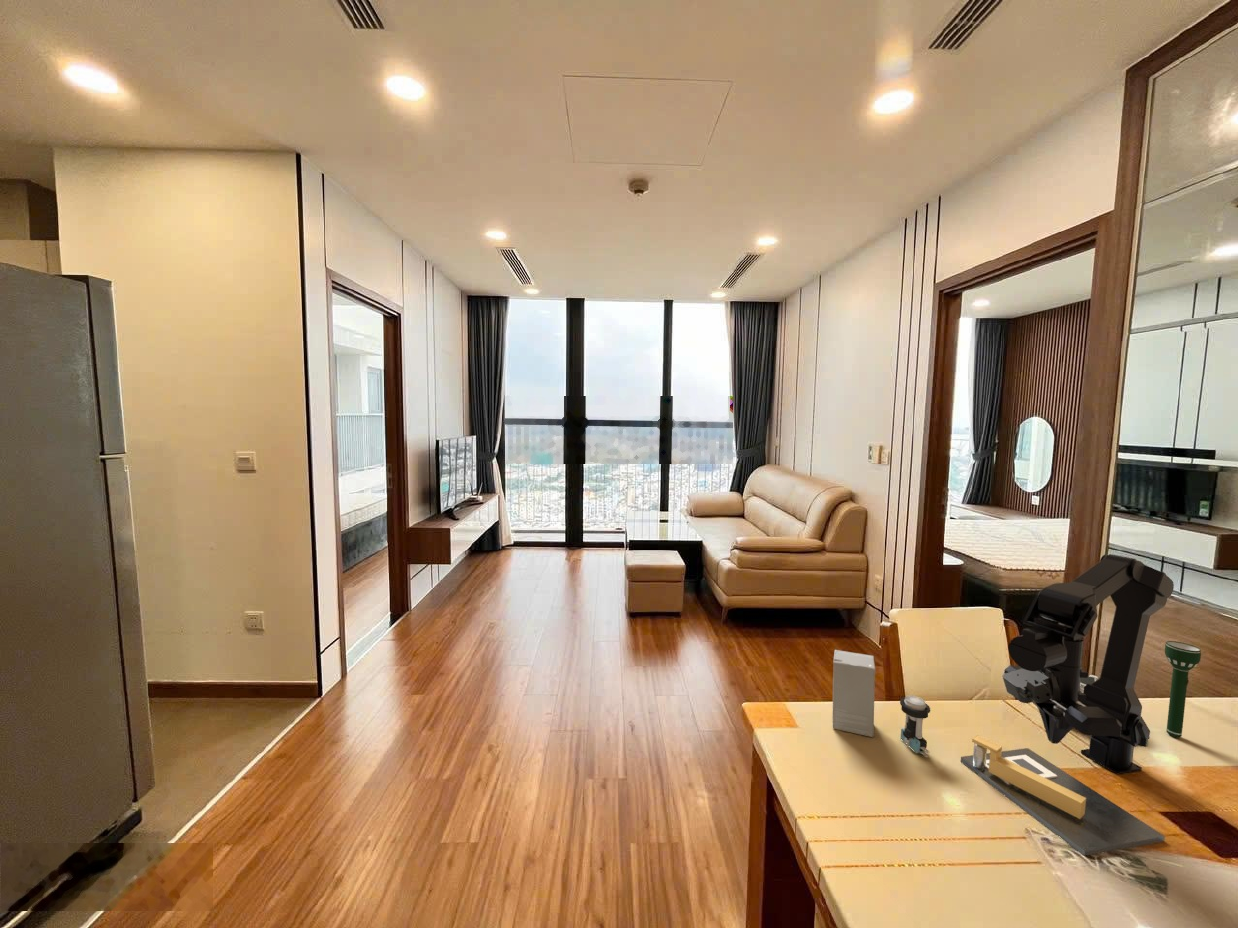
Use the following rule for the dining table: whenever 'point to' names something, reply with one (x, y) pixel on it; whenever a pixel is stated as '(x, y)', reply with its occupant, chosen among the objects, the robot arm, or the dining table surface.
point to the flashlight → (1179, 681)
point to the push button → (914, 723)
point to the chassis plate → (1087, 835)
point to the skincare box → (853, 692)
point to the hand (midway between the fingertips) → (1053, 742)
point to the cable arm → (1032, 781)
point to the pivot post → (979, 757)
